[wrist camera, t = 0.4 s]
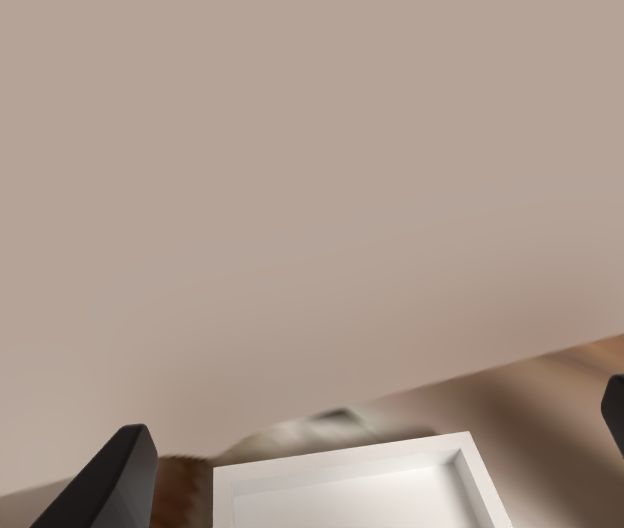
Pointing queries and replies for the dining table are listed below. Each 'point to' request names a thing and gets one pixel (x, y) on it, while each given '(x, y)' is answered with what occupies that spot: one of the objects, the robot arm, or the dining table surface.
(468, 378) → the dining table surface
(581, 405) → the dining table surface
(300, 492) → the tray
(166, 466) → the dining table surface
